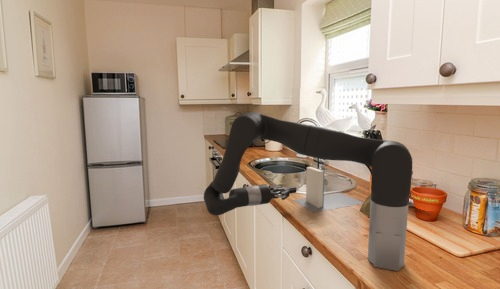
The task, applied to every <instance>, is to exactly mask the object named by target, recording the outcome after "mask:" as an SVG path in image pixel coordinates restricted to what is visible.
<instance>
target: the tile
mask: <svg viewBox="0 0 500 289" xmlns="http://www.w3.org/2000/svg"><path fill="white" fill-rule="evenodd" d="M305 178H306V179H305V180H306V186H305V188H306V189H305V193H306V194H305V198H306V201H307V202H309V203H310V204H312V205H314V206H316V207H318V208H320V207H324V195H325V170H322V169H319V168H317V167H313V166H307V167H306V177H305Z"/></svg>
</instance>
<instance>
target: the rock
mask: <svg viewBox="0 0 500 289" xmlns="http://www.w3.org/2000/svg"><path fill="white" fill-rule="evenodd" d="M370 205H371V192H370V193H369V195H368V196H367V197H366V199H365V200H364V203H363V204H361V207H360V208H359V212H362V213H364V214H365V215H367V218H368V219H370Z"/></svg>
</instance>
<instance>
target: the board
mask: <svg viewBox="0 0 500 289" xmlns="http://www.w3.org/2000/svg"><path fill="white" fill-rule="evenodd" d="M292 201H293V202H294V203H297V204H299V206H302V207H303V208H305V209H307V210H308V211H310V212H312V213H320V212H324V211H331V210H334V209H335V210H336V209H341V208H346V207H351V206H352V207H353V206H358V205H362V204H363V203H364V202H365V201H364V202H363V201H361V200H360V199H356V198H355V197H351V196H350V195H346V194H344V193H343V192H335V193H329V194H324V207H320V208H318V207H316V206H314V205H312V204H310V203H309V202H307V201H306V197H303V198H298V199H293V200H292Z"/></svg>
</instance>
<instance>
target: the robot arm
mask: <svg viewBox="0 0 500 289" xmlns="http://www.w3.org/2000/svg"><path fill="white" fill-rule="evenodd" d="M257 140H265V141H270V142H274V143H275V142H276V143H279V144H281V145H284V146H285V147H287V148H289V149H290V150H291V151H293V152H295V153H297V154H300V155H302V156H306V157H311V158H315V159H319V160H325V161H341V162H342V161H345V162H354V163H359V164H362V165H365V166H369V167H371V181H370V182H371V184H370V185H371V186H370V193H371V205H370V215H369V217H370V218H369V222H368V223H369V226H368V247H367V248H368V249H367V250H368V251H367V259H368V261H369V262H370V263H371V264H372V265H373V267H374V268H379V269H385V270H390V271H395V272H399V271H400V269H402V268H404V266H405V259H406V255H405V254H406V242H407V231H408V230H407V228H408V227H407V226H408V213H409V204H410V203H409V196H410V189H411V177H413V174H412V171H413V157H412V154H411V153H410V150H409V149H408V148H407V146H405V145H404V143H400V142H398V141H395V140H384V139H376V138H368V137H367V138H366V137H362V136H356V135H352V134H349V133H347V132H344V131H343V132H342V131H339V130H336V129H331V128H329V127H323V126H318V125H312V124H307V123H301V122H296V121H288V120H283V119H278V118H276V117H272V116H269V115H265V114H262V113H260V112H256V111H250V112H246V113H244V114H240V115H239V116H237V117H236V118H234V120H233V122H232V123H231V126H230V130H229V134H228V138H227V142H226V147H225V150H224V155H223V157H222V159H221V162H220V164H219V167H218V169H217V171H216V174H215V175H214V179H213V180H212V181H211V182H210V183H209V185H207V187H206V188H205V190H204V192H203V201H204V203H205V205H206V206H205V207H206V210H207V212H208V213H209V214H210V215H212V216H221V215H224V214H226V213H228V212H230V211H233V210H235V209H237V208H242V207H253V206H259V205H265V204H266V205H267V204H270V202H272V201H271V200H272V199H273V200H277V199H279V198H281V200H282V201H285V200H286V199H287V198H289V197H290V195H291V194H296V193H297V187H296V186H289V187H287V186H282V185H272V184H269V185H268V184H266V183H265V184H264V183H263V184H256V185H254V184H253V185H249V186H245V187H237V188H233V186H234V184H235V182H236V180H237V178H238V176H239V172H240V169H241V162H242V160H243V156H244V154H245V152H246V151H247V150H248V148H249V147H250V145H251V144H252V143H254V142H256V141H257ZM232 188H233V189H232ZM224 194H228V198H225V196H224ZM408 203H409V204H408Z"/></svg>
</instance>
